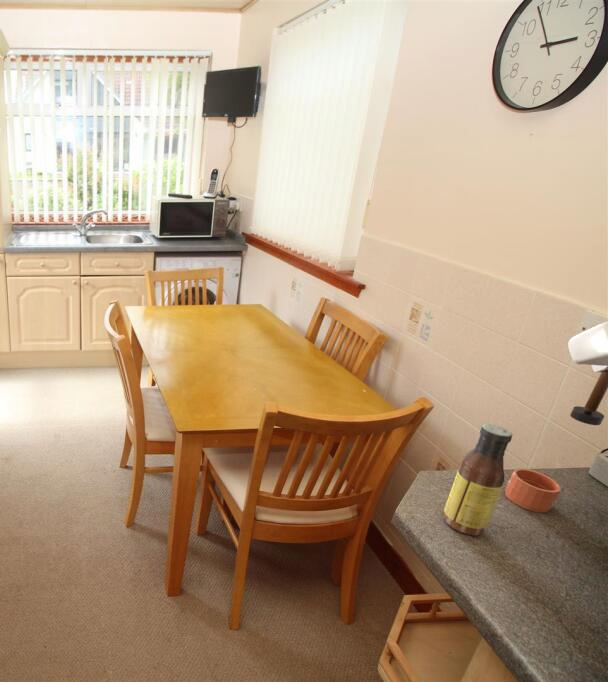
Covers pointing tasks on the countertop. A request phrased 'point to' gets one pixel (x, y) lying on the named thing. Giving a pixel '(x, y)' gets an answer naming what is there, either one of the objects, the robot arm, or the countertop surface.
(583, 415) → the toilet plunger
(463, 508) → the sauce bottle
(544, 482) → the bowl
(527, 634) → the countertop surface
